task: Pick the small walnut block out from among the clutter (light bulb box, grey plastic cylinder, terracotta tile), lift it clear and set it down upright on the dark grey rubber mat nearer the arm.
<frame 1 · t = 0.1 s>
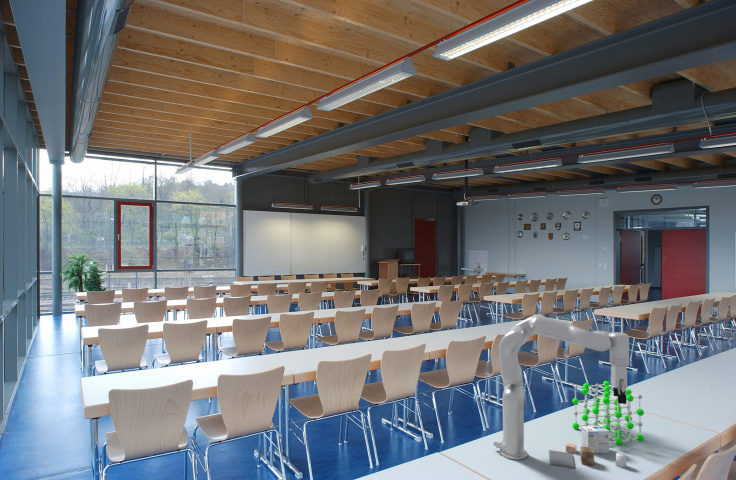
hand: (619, 399, 196), 31 cm above the table, fingers open, 9 cm apart
light bulb box: (595, 450, 215), on the table
mat: (561, 459, 205), on the table
terracotta tile: (571, 451, 214), on the table
grey plastic cylinder: (621, 465, 200), on the table
molecular structure model: (606, 435, 233), on the table
walnut block: (587, 462, 203), on the table
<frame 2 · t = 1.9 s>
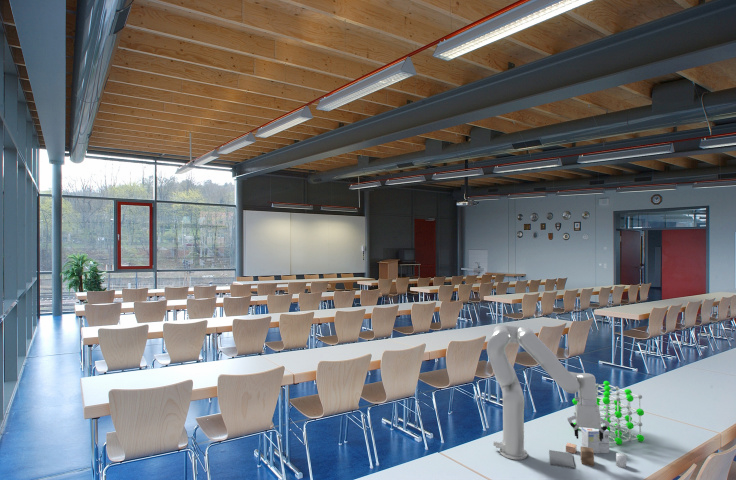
hand: (588, 438, 203), 11 cm above the table, fingers open, 9 cm apart
nothing on the table moved.
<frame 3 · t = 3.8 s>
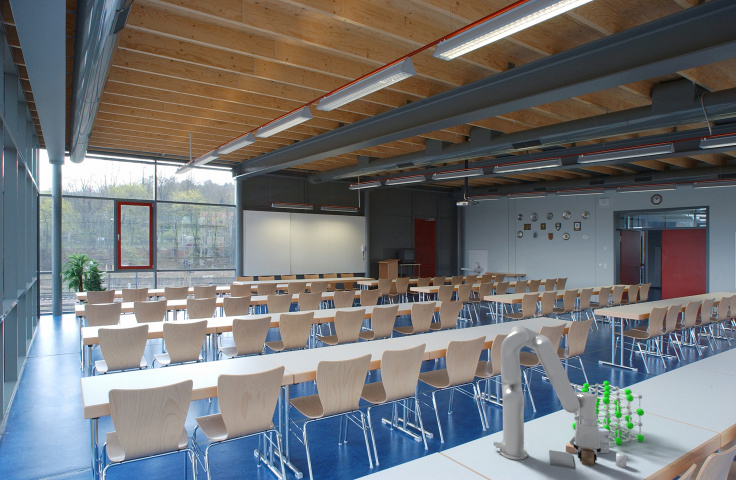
hand: (587, 460, 203), 1 cm above the table, fingers closed on walnut block, 5 cm apart
walnut block: (587, 462, 203), on the table, touching gripper
everything else where it was.
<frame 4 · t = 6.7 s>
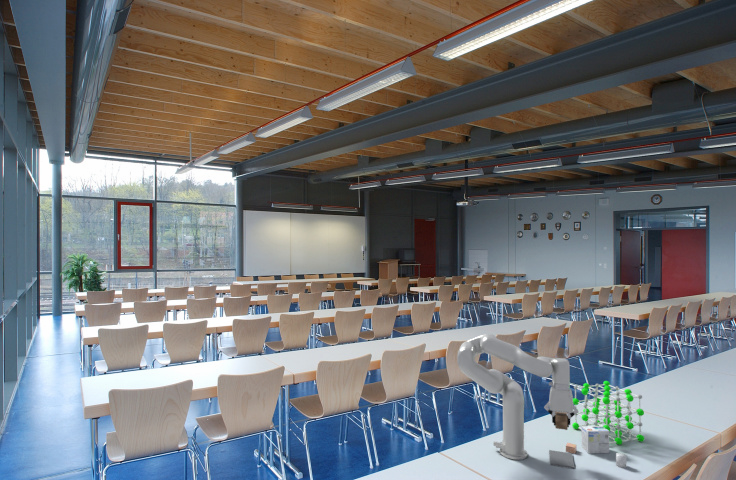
hand: (561, 424, 206), 16 cm above the table, fingers closed on walnut block, 5 cm apart
walnut block: (561, 427, 206), point 15 cm above the table, touching gripper
everything else where it was.
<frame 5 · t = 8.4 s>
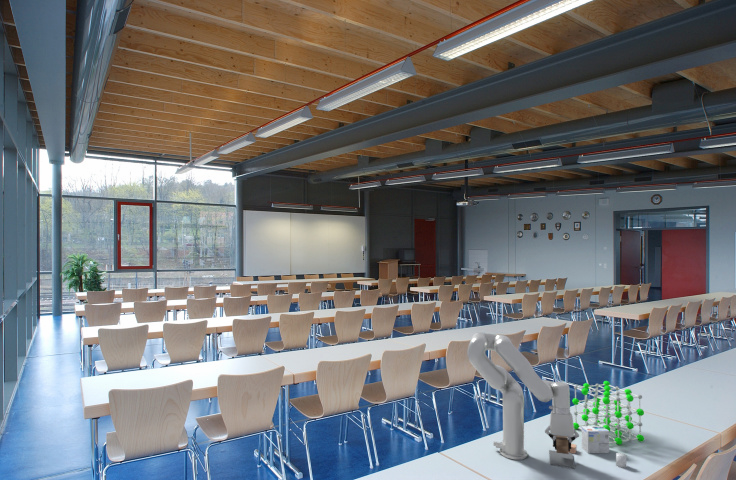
hand: (562, 448, 205), 5 cm above the table, fingers closed on walnut block, 5 cm apart
walnut block: (562, 451, 205), point 4 cm above the table, touching gripper
everything else where it was.
when the fingers open (3 cm above the table, at t = 9.8 s): walnut block stays where it is, resting on mat.
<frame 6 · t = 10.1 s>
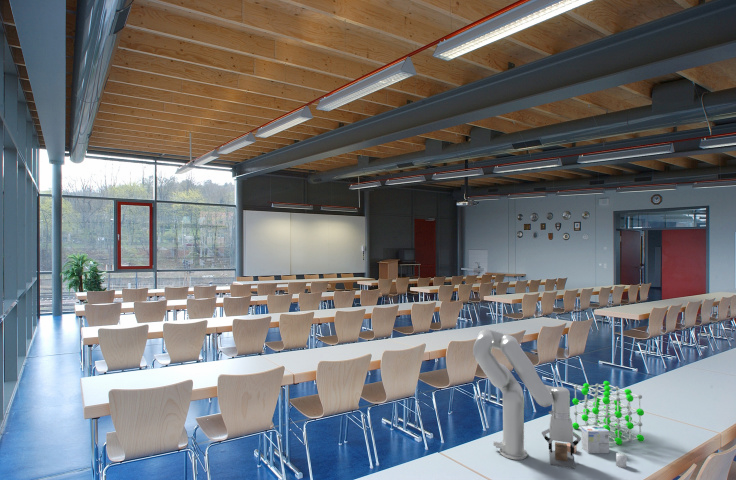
hand: (561, 452, 206), 3 cm above the table, fingers open, 8 cm apart
walnut block: (561, 458, 206), point 1 cm above the table, touching mat
everything else where it was.
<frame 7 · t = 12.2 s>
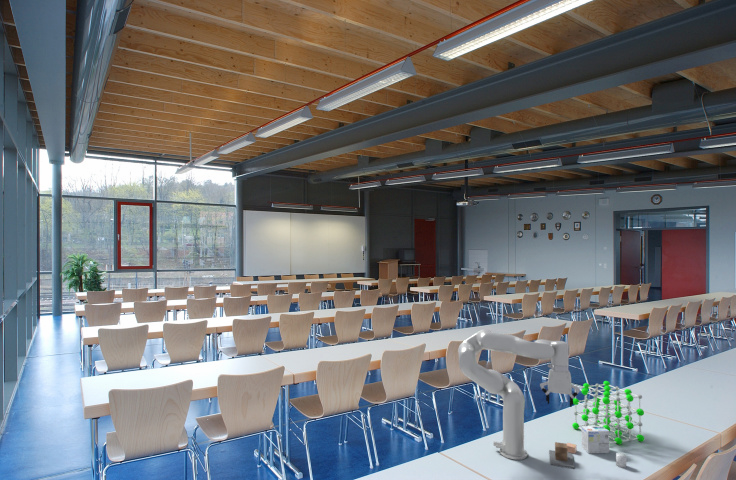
hand: (559, 404, 209), 25 cm above the table, fingers open, 9 cm apart
nothing on the table moved.
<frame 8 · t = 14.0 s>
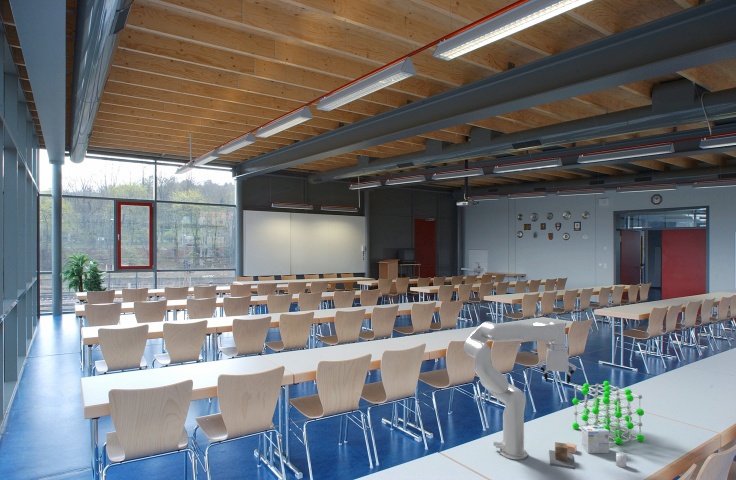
hand: (557, 381, 218), 32 cm above the table, fingers open, 9 cm apart
nothing on the table moved.
at the end: walnut block inside the target area on the mat (0.1 cm from its centre), point 0.8 cm above the mat's base; walnut block tilted 0°; the gripper is holding nothing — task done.
